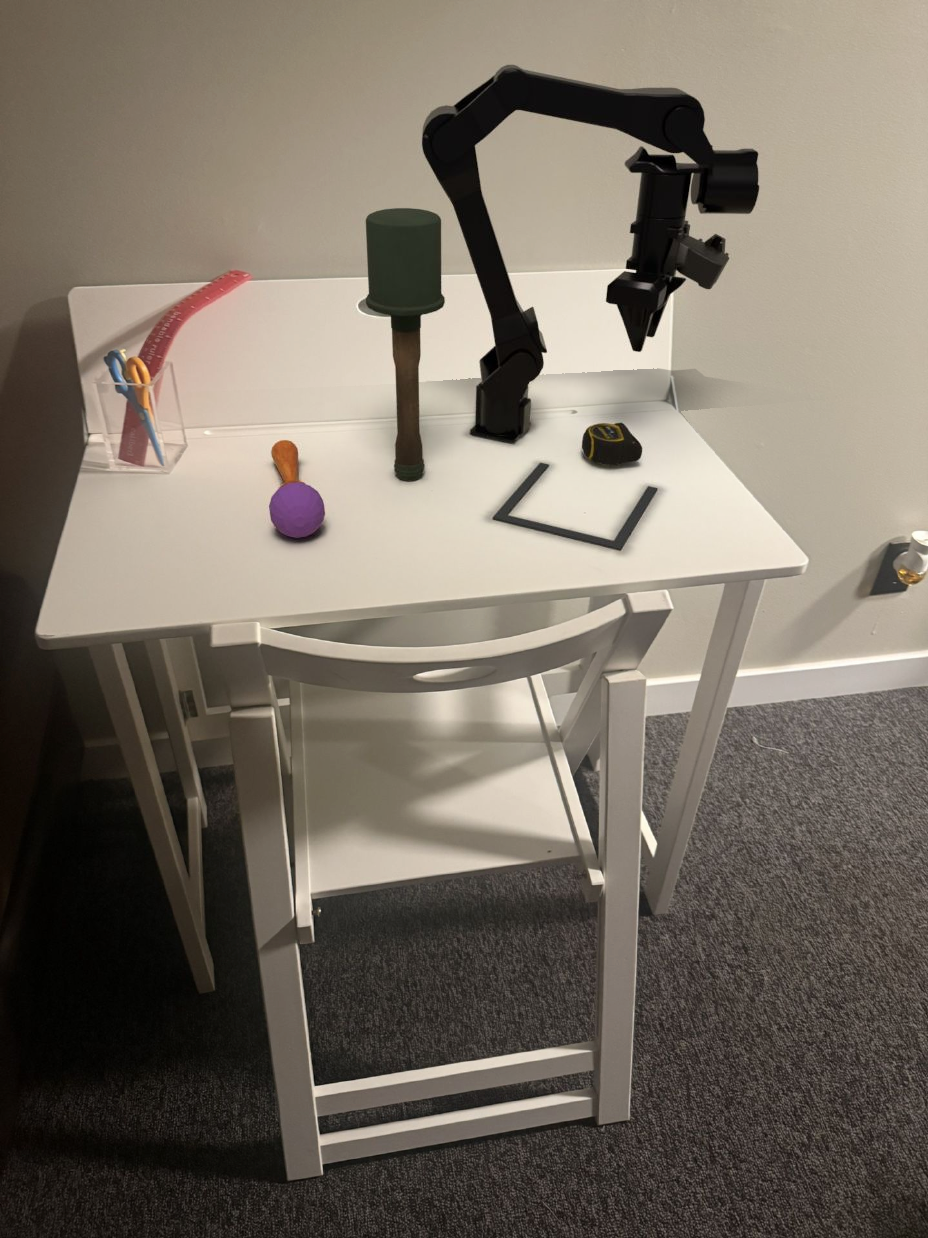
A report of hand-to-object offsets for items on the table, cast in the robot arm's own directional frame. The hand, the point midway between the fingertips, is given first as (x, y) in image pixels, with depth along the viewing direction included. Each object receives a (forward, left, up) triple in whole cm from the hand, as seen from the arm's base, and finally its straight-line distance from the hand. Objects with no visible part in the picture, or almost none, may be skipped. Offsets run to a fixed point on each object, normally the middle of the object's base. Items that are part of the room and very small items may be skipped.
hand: (643, 343), depth 115 cm
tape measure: (0, -9, -12) cm, 15 cm away
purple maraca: (-30, -37, -12) cm, 49 cm away
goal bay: (0, -22, -12) cm, 25 cm away
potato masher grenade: (-21, -25, -12) cm, 35 cm away
